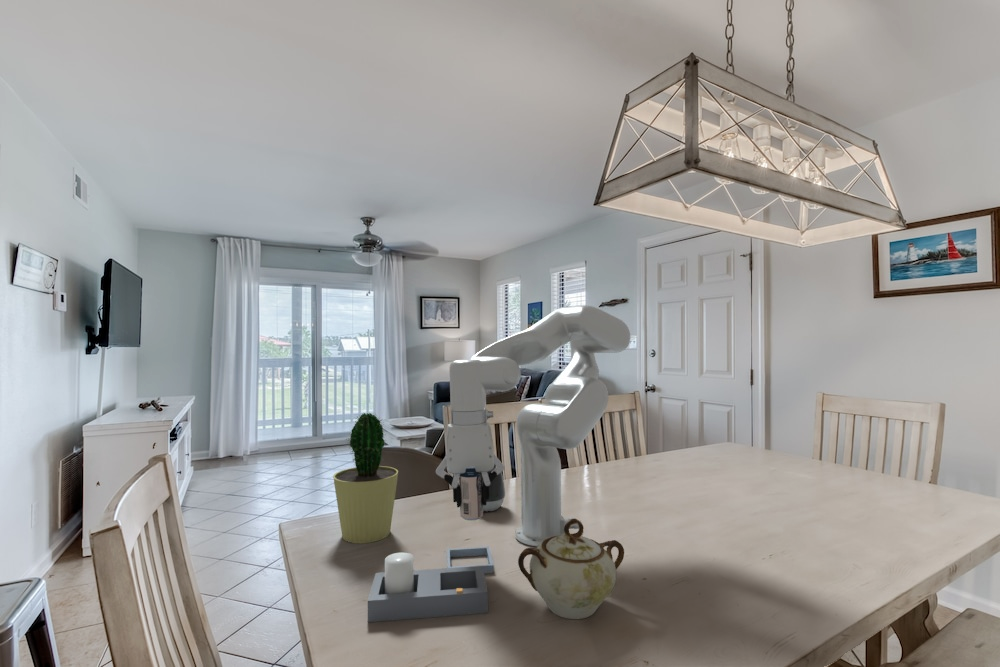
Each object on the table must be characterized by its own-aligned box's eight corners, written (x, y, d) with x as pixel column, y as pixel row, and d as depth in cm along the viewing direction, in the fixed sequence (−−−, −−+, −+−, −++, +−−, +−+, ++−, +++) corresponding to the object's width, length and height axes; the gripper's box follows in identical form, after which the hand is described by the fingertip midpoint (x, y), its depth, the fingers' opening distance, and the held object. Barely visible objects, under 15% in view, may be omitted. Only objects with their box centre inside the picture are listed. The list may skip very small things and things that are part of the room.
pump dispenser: (464, 505, 139) (463, 452, 139) (498, 501, 142) (497, 449, 143) (474, 517, 129) (473, 459, 130) (510, 512, 133) (510, 456, 133)
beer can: (486, 519, 100) (484, 461, 101) (463, 523, 99) (462, 464, 99) (479, 511, 105) (477, 456, 105) (457, 515, 103) (456, 459, 103)
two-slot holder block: (482, 584, 92) (482, 542, 93) (487, 612, 83) (487, 565, 83) (375, 591, 90) (375, 548, 90) (367, 622, 80) (367, 573, 80)
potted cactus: (330, 528, 122) (330, 409, 123) (391, 519, 128) (391, 405, 129) (336, 552, 108) (336, 417, 109) (404, 540, 114) (404, 412, 115)
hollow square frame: (488, 553, 106) (488, 546, 106) (493, 572, 97) (493, 565, 97) (446, 556, 105) (446, 549, 105) (447, 575, 96) (447, 568, 96)
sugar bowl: (605, 579, 94) (604, 501, 94) (646, 621, 79) (644, 529, 80) (507, 592, 89) (506, 510, 90) (531, 640, 75) (530, 542, 75)
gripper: (506, 413, 107) (508, 495, 107) (428, 417, 105) (431, 501, 105) (511, 418, 99) (513, 507, 99) (427, 423, 97) (430, 513, 97)
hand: (471, 503), depth 102 cm, fingers closed on beer can, 4 cm apart
